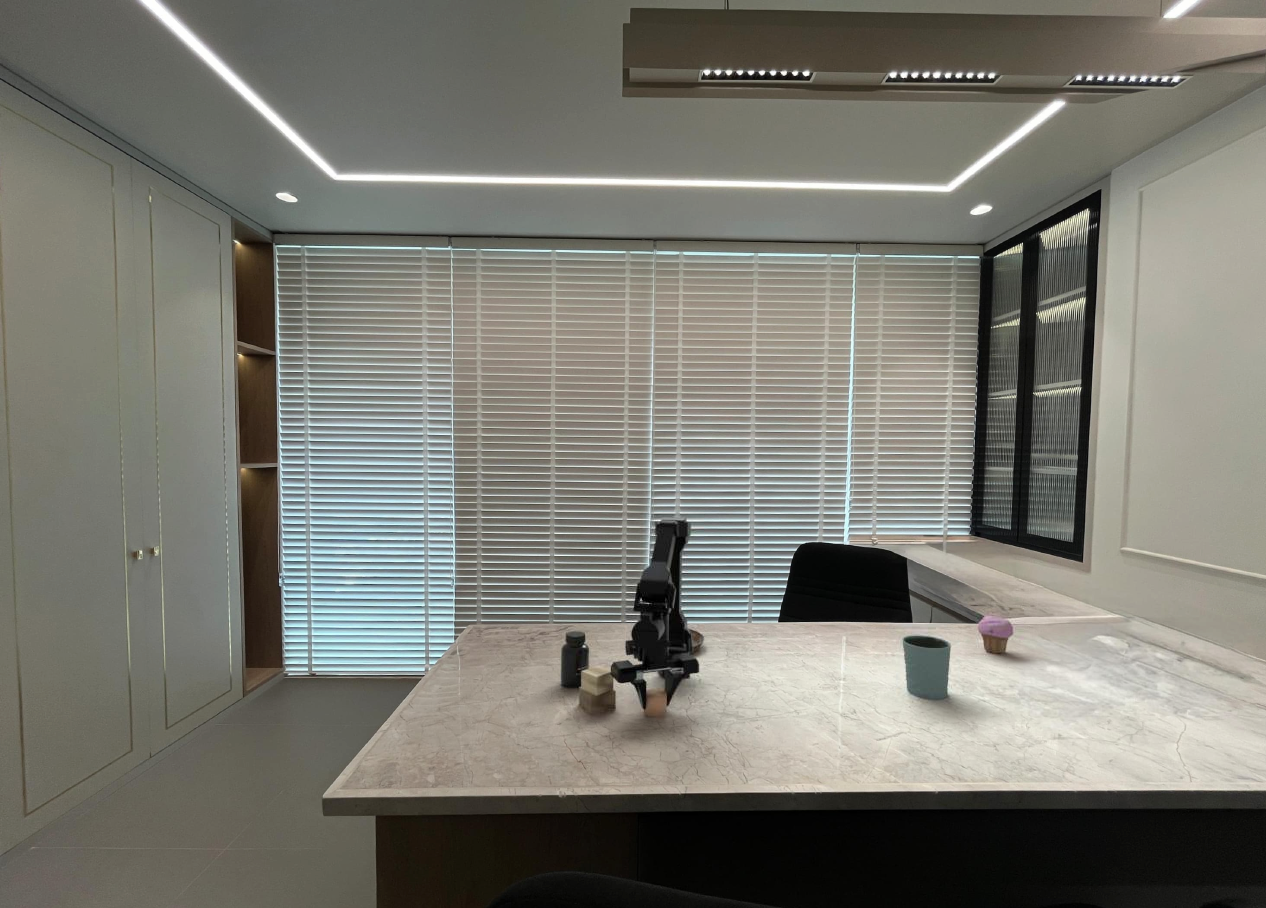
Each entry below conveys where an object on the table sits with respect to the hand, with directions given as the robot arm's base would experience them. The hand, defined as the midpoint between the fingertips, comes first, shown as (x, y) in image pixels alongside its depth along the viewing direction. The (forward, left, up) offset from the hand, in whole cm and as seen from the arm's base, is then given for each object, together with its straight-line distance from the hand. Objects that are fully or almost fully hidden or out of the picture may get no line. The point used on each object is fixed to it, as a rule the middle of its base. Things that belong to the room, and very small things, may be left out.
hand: (655, 707), depth 127 cm
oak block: (+11, -7, +3) cm, 13 cm away
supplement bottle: (+12, -22, -1) cm, 25 cm away
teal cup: (-64, +12, -1) cm, 65 cm away
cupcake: (-107, -4, -1) cm, 107 cm away
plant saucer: (-21, -40, -2) cm, 45 cm away
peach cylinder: (0, 0, -1) cm, 1 cm away
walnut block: (+11, -7, -1) cm, 13 cm away
